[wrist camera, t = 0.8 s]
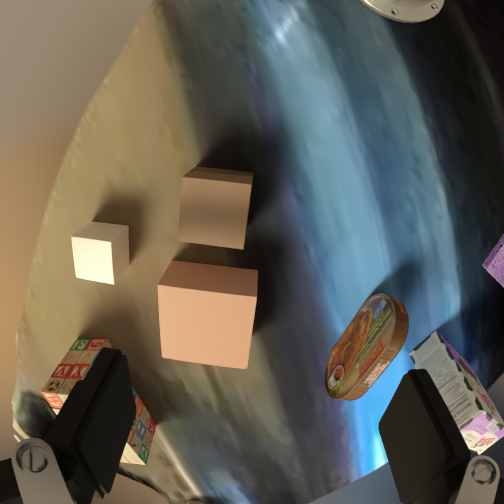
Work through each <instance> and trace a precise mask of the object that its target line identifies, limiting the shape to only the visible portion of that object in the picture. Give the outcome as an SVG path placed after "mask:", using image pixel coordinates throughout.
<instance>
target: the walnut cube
mask: <svg viewBox="0 0 504 504" xmlns="http://www.w3.org/2000/svg"><path fill="white" fill-rule="evenodd" d="M253 174H254V173H251V172H243V171H235V170H226V169H217V168H208V167H198V166H196V167H194V168H193V169H192V170H190V171H189V172H188V173H187V174H185V175H184V176H183V177H182V188H181V203H180V222H179V241H182V242H189V243H197V244H205V245H213V246H221V247H228V248H236V249H243V248H244V241H245V234H246V228H247V220H248V212H249V204H250V197H251V189H252V181H253Z"/></svg>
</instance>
